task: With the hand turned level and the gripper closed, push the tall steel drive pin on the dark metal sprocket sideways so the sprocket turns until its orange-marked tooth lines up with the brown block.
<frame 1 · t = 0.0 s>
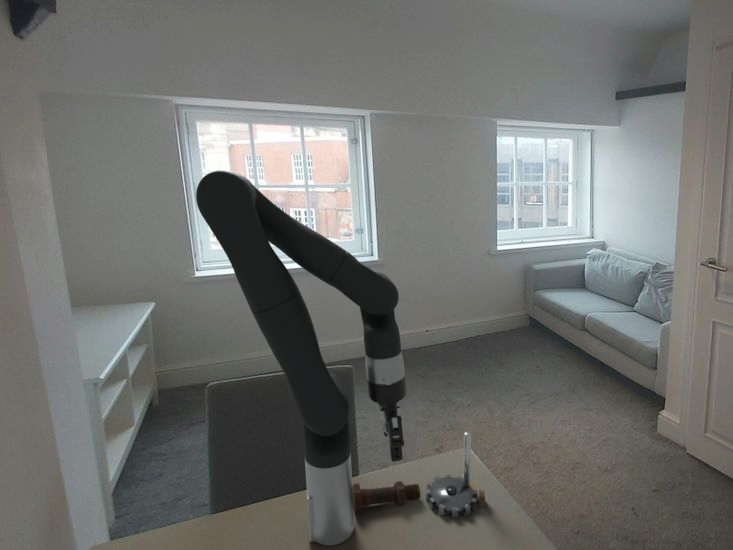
hand: (392, 447, 86), 17 cm above the table, tool pointing down, fingers open, 8 cm apart
bolt: (387, 505, 94), on the table
sprocket: (451, 469, 93), point 8 cm above the table, hinge at 20.0°
brown block: (481, 503, 93), on the table
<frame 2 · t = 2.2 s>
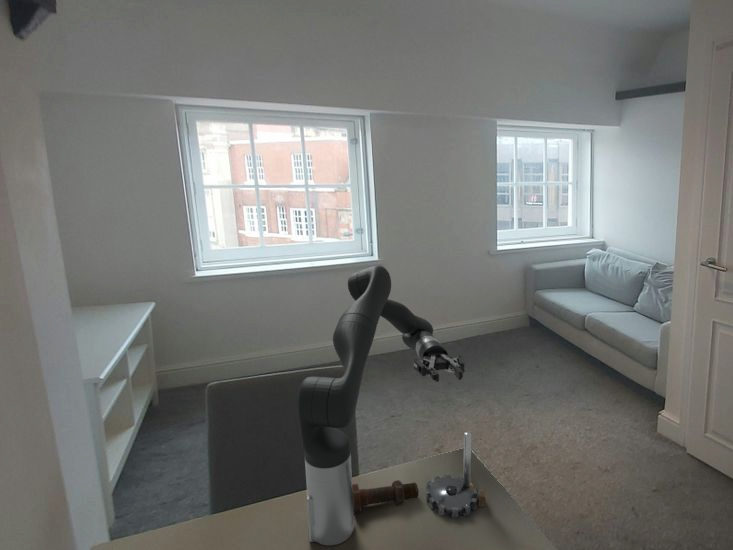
hand: (449, 377, 105), 22 cm above the table, tool horizontal, fingers open, 5 cm apart
nothing on the table moved.
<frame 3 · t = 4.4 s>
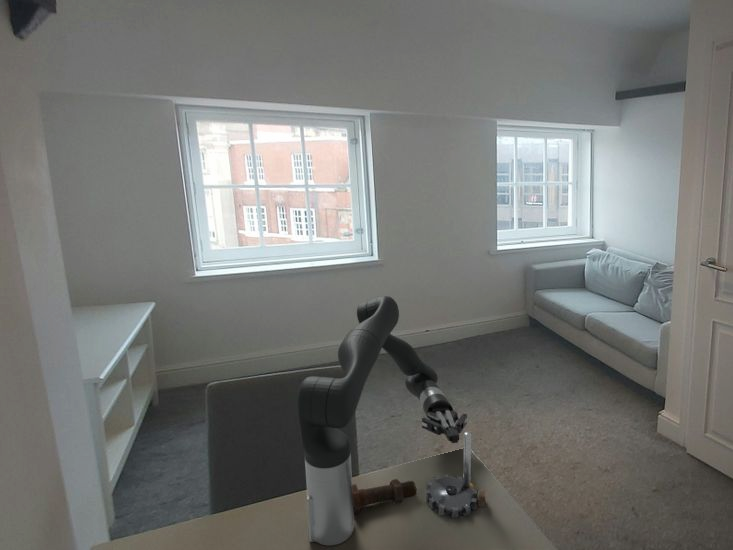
hand: (455, 439, 103), 8 cm above the table, tool horizontal, fingers closed
nothing on the table moved.
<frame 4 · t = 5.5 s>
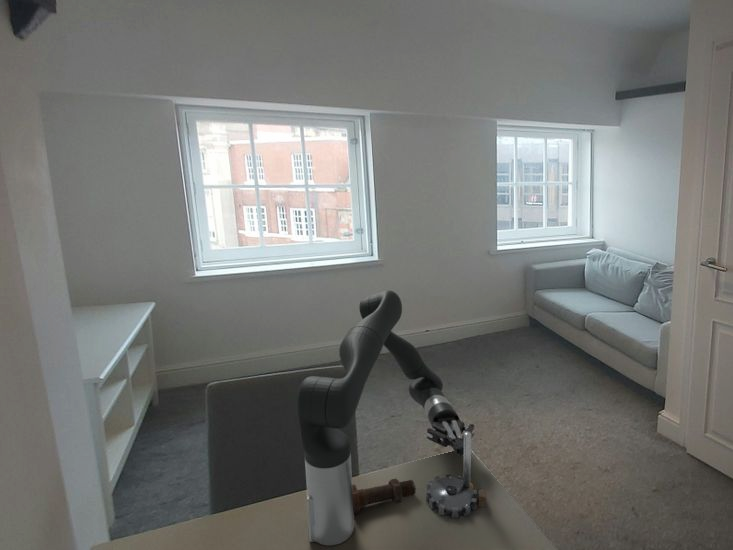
hand: (462, 452, 98), 8 cm above the table, tool horizontal, fingers closed
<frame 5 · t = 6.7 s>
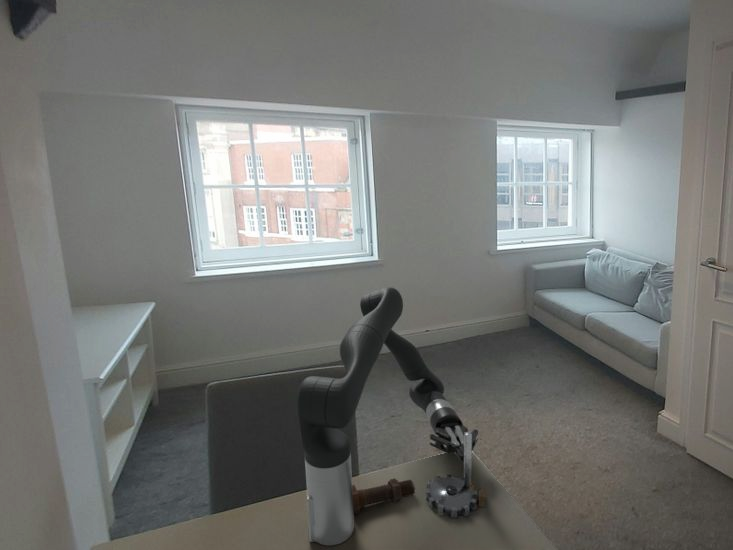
hand: (467, 459, 95), 8 cm above the table, tool horizontal, fingers closed
sprocket: (451, 469, 93), point 8 cm above the table, hinge at 17.6°, touching gripper
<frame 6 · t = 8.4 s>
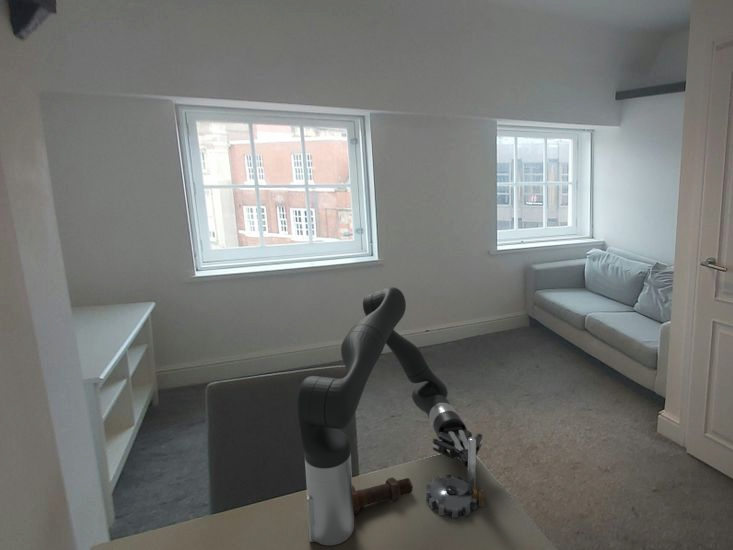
hand: (471, 465, 93), 8 cm above the table, tool horizontal, fingers closed
sprocket: (451, 469, 93), point 8 cm above the table, hinge at -10.3°
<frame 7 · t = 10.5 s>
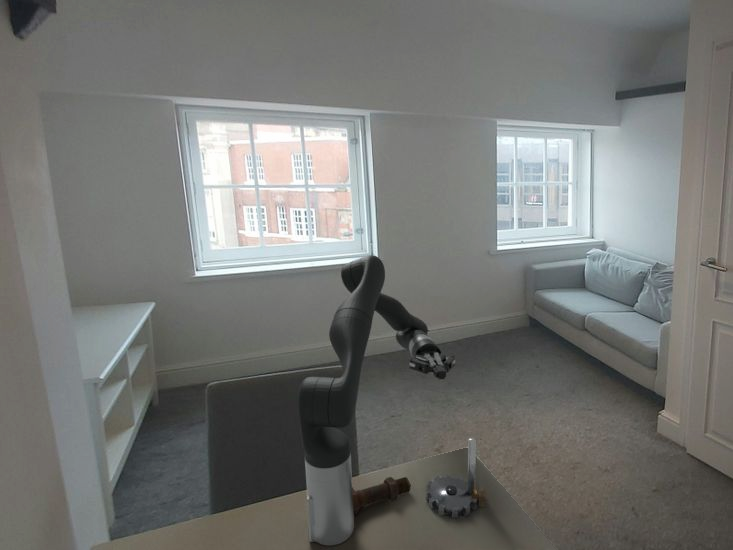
hand: (442, 375, 102), 24 cm above the table, tool horizontal, fingers closed
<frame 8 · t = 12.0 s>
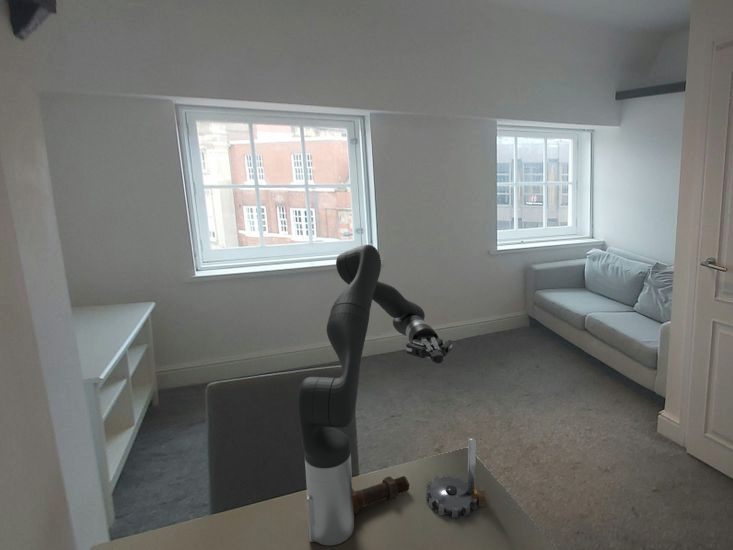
hand: (438, 359, 101), 28 cm above the table, tool horizontal, fingers closed
at the end: sprocket at -10° (first picture: +20°); bolt moved 2.2 cm from its start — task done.
